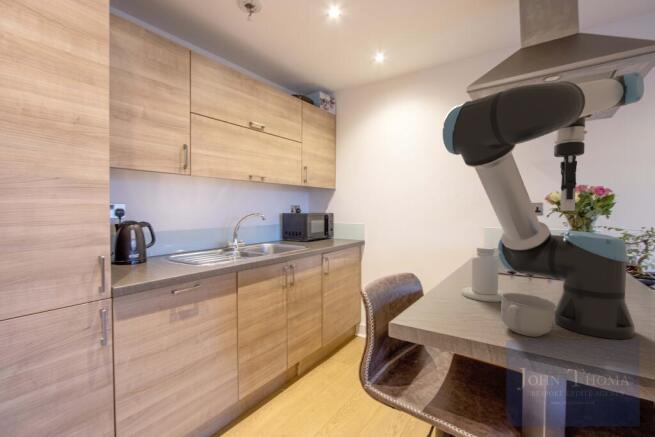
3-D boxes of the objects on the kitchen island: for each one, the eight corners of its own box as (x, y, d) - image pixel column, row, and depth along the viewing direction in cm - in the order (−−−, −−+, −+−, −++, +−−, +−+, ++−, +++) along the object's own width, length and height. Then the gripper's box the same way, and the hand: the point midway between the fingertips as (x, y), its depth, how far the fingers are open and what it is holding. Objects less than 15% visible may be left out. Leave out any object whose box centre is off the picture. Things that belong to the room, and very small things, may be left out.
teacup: (518, 320, 81) (519, 290, 81) (564, 336, 71) (565, 301, 71) (482, 329, 75) (482, 297, 75) (527, 347, 65) (528, 310, 65)
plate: (506, 304, 94) (506, 300, 94) (457, 297, 102) (457, 293, 102) (509, 294, 105) (510, 290, 105) (465, 288, 113) (465, 284, 113)
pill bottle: (498, 291, 105) (499, 247, 104) (497, 296, 98) (498, 250, 97) (473, 287, 109) (473, 245, 108) (469, 293, 102) (470, 248, 102)
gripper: (590, 133, 84) (587, 210, 85) (580, 148, 105) (578, 210, 106) (556, 137, 89) (554, 210, 89) (552, 150, 109) (551, 210, 110)
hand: (567, 210), depth 97 cm, fingers open, 13 cm apart
